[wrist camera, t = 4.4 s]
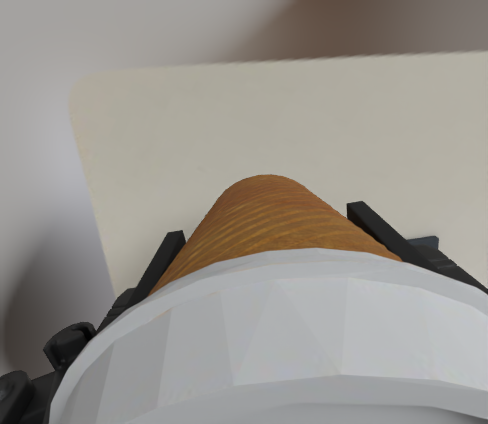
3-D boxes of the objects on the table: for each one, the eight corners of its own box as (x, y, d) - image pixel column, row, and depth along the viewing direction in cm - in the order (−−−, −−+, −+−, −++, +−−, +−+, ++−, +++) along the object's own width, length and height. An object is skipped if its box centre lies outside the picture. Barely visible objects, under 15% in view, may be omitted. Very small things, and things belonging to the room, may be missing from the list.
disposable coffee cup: (370, 273, 16) (630, 644, 5) (218, 318, 18) (171, 691, 7) (329, 110, 13) (799, 187, 2) (146, 180, 14) (-190, 463, 3)
